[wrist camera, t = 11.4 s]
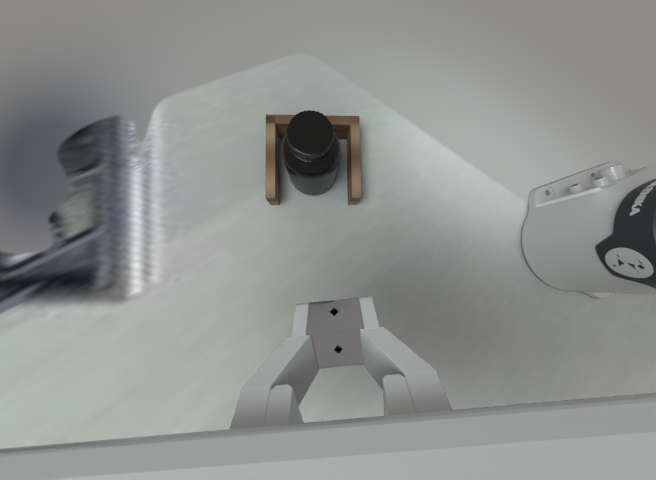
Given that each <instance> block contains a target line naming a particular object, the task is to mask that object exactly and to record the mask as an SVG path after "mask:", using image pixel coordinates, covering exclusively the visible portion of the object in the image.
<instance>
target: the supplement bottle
mask: <svg viewBox="0 0 656 480" xmlns="http://www.w3.org/2000/svg"><path fill="white" fill-rule="evenodd" d="M340 152H341V148H340V142H339V139H338V137H337V135H336V133H335V132H334V131H333V127H332V124H331V123H330V121H329V119H327V117H326V116H324V115H323V114H322V113H319V112H315V111H310V110H309V111H303V112H300V113H299V114H296V115H295V116H294V117H293V118H292V120H290V123H289V124H288V128H287V133H286V134H285V136H284V138H283V142H282V156H283V160H284V163H285V166H286V168H287V171H288V174H289V177H290V180H291V182H292V184H293V185H294V186H295V188H296V189H297V190H299V191H300V192H302V193H304V194H307V195H318V194H321V193H324V192H325V191H327V190H328V189H329V188H330V187H331V186H332V184H333V183H334V180H335V177H336V173H337V168H338V163H339V159H340Z"/></svg>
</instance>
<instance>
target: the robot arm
mask: <svg viewBox="0 0 656 480" xmlns="http://www.w3.org/2000/svg"><path fill="white" fill-rule="evenodd" d="M545 193H546V194H545ZM522 247H523V251H524V255H525V258H526V260H527V262H528V264H529V266H530V267H531V269H532V270H533V272H534V273H535V274H536V275H537V276H538V277H539V278H540V279H541V280H542V281H544V282H545V283H547V284H548V285H550V286H552V287H554V288H557V289H560V290H565V291H579V292H583V293H585V294H587V295H589V296H591V297H593V298H603V299H605V298H608V297H609V296H610V295H611V294H632V295H656V166H647V167H643V168H640V169H636V170H632V171H631V170H630V169H629V168H627V167H626V166H624V165H623V164H621V163H619V162H617V161H612V162H608V163H604V164H601V165H598V166H596V167H593V168H590V169H587V170H584V171H582V172H579V173H576V174H574V175H571V176H568V177H565V178H562V179H560V180H557V181H554V182H551V183H549V184H546V185H543V186H540V187H538V188H535V189H533V190H531V191H530V193H529V211H528V215H527V218H526V220H525V223H524V226H523V231H522ZM350 365H364V367H365V368H366V369H367V370H368V372H369V373H370V374H371V375H372V377H373V378H374V379H375V381H376V382H377V383H378V384H379V386H380V387H381V388H382V389H383V398H384V416H379V417H368V418H356V419H345V420H333V421H321V422H309V423H303V419H302V416H301V413H300V410H299V407H298V406H299V405H300V403H301V401H302V399H303V397H304V396H305V394H306V392H307V390H308V389H309V387H310V385H311V383H312V381H313V380H314V378H315V376H316V374H317V373H318V371H319V369H322V368H330V367H338V366H350ZM0 480H656V393H647V394H635V395H624V396H612V397H600V398H589V399H577V400H565V401H554V402H542V403H530V404H519V405H507V406H495V407H483V408H472V409H460V410H452V408H451V406H450V403H449V401H448V399H447V396H446V394H445V391H444V389H443V387H442V384H441V382H440V380H439V377H438V375H437V372H436V370H435V369H434V368H433V367H431V366H430V365H429V364H428V363H427V362H425V361H424V360H423V359H422V358H421V357H419V356H418V355H417V354H416V353H415V352H413V351H412V350H411V349H410V348H409V347H407V346H406V345H405V344H404V343H403V342H401V341H400V340H399V339H398V338H397V337H395V336H394V335H393V334H392V333H391V332H389V331H388V330H387V329H386V328H385V327H380V326H379V322H378V318H377V314H376V310H375V306H374V302H373V298H372V296H365V297H359V298H351V299H343V300H334V301H323V302H311V303H303V304H297V305H296V308H295V314H294V321H293V327H292V334H291V337H287V338H286V339H285V340H284V341H283V342H282V343H281V345H280V346H279V347H278V348H277V349H276V350H275V351H274V352H273V354H272V355H271V356H270V357H269V358H268V359H267V360H266V361H265V363H264V364H263V365H262V366H261V367H260V368H259V369H258V370H257V371H256V373H255V374H254V375H253V376H252V377H251V378H250V379H249V380H248V382H247V383H246V384H245V385H244V386H243V387H242V390H241V393H240V397H239V400H238V403H237V407H236V410H235V413H234V417H233V420H232V423H231V427H230V429H228V430H216V431H204V432H193V433H181V434H169V435H157V436H146V437H134V438H122V439H111V440H99V441H87V442H75V443H64V444H52V445H40V446H28V447H17V448H5V449H0Z"/></svg>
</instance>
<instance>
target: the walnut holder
mask: <svg viewBox="0 0 656 480" xmlns="http://www.w3.org/2000/svg"><path fill="white" fill-rule="evenodd" d="M294 116H295V115H266V199H267V200H268V202H269V203H270V204H271V205H279V138H284V136H285V134H286V133H287V128H288V124H289V123H290V120H292V118H293V117H294ZM326 117H327V119H329V121H330V123H331V124H332V127H333V131H334V132H335V133H336V135H337V137H338V139H347V174H348V205H356V204H357V203H358V202H359V200H360V199H361V165H360V127H359V116H326Z"/></svg>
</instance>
